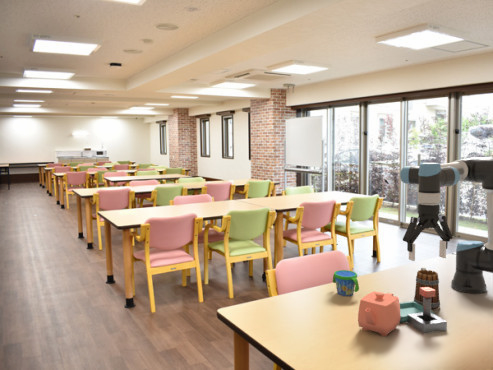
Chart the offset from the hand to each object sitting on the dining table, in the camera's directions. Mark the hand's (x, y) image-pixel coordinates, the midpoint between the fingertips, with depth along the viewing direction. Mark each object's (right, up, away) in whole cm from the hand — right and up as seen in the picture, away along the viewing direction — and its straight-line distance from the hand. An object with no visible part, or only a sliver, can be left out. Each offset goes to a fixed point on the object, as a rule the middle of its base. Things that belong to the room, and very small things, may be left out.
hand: (427, 258), depth 157 cm
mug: (+10, -25, +25) cm, 37 cm away
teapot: (-19, -27, 0) cm, 33 cm away
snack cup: (-22, -24, +39) cm, 50 cm away
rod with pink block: (+1, -27, +2) cm, 27 cm away
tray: (-2, -26, +14) cm, 29 cm away
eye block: (+1, -27, +2) cm, 27 cm away
